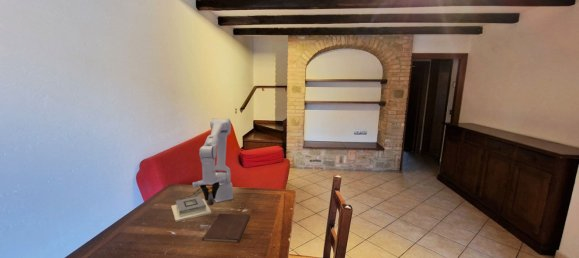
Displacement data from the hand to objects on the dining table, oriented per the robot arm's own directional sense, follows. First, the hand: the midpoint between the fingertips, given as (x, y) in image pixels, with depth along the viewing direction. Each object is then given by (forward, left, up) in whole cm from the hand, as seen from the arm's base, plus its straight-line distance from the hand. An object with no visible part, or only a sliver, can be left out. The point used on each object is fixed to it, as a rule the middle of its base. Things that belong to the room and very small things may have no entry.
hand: (210, 198), depth 119 cm
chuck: (+7, -11, -9) cm, 16 cm away
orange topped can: (0, 0, -2) cm, 2 cm away
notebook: (-4, +13, -10) cm, 17 cm away
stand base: (+7, -11, -9) cm, 16 cm away
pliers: (+4, -29, -10) cm, 31 cm away
